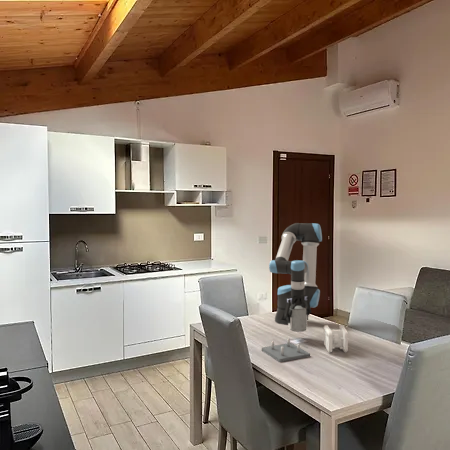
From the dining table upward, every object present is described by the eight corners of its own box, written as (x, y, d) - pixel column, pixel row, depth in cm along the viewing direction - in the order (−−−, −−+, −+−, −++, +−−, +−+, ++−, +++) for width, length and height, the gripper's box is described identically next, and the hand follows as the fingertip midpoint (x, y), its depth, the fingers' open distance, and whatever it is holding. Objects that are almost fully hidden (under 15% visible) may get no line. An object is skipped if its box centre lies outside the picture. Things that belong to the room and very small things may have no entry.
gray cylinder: (307, 331, 241) (307, 310, 240) (290, 331, 241) (290, 310, 240) (304, 326, 250) (304, 305, 249) (288, 326, 251) (288, 305, 249)
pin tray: (261, 350, 228) (261, 340, 228) (290, 345, 235) (290, 335, 235) (279, 362, 212) (279, 351, 211) (310, 356, 219) (310, 345, 219)
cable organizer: (348, 354, 221) (348, 332, 220) (327, 354, 222) (327, 332, 221) (342, 345, 236) (342, 324, 235) (322, 344, 237) (322, 323, 236)
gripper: (284, 291, 236) (284, 331, 238) (318, 287, 245) (317, 326, 247) (277, 289, 242) (277, 327, 244) (310, 284, 251) (310, 322, 253)
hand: (297, 326), depth 246 cm, fingers closed on gray cylinder, 9 cm apart
